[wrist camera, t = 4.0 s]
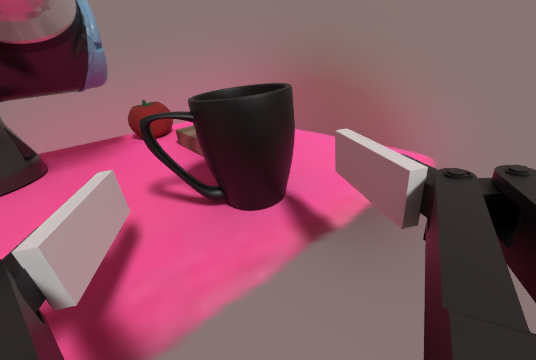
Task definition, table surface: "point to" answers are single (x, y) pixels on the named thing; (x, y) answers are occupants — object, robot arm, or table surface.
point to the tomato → (143, 110)
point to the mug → (238, 143)
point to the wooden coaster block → (189, 139)
